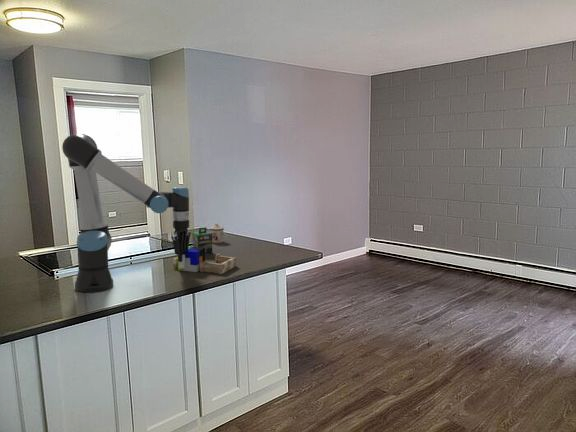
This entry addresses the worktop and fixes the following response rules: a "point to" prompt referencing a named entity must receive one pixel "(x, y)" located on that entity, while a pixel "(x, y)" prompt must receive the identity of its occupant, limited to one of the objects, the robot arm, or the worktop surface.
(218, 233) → the teacup with lid
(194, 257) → the puzzle toy
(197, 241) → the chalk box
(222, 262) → the beige low frame piece
